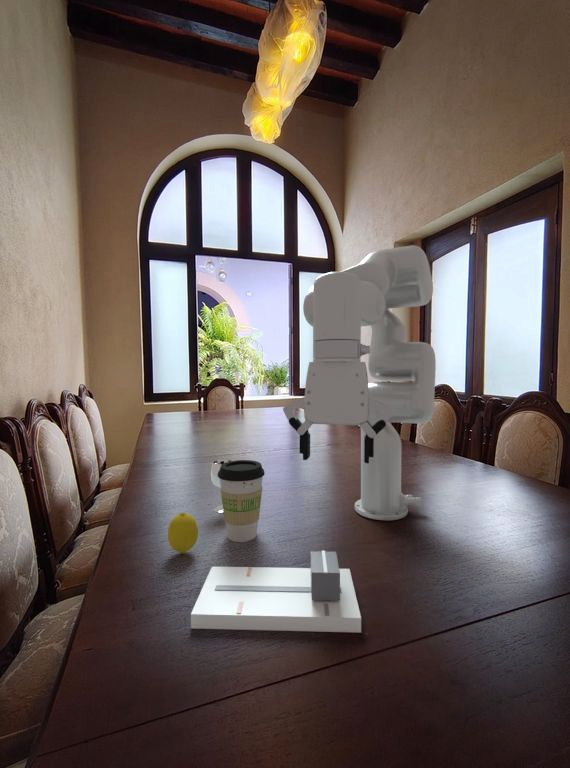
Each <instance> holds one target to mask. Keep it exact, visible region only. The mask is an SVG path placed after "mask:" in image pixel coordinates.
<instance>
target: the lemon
mask: <svg viewBox="0 0 570 768" xmlns="http://www.w3.org/2000/svg"><path fill="white" fill-rule="evenodd" d="M198 535H199V529H198V523H197V521H196V519H195V517H194V516H193V515H191V514H189V513H186V512H185V511H183V512H182V511H181V512H180V513H178V514H177V515H175V516H174V517H173V518H172V520H171V521H170V522H169V526H168V530H167V539H168V544H169V546H170V548H171V549H173V550H174V551H175V552H178V553H180V554H182V555H184V554H186V553H187V552H188V551H190V550H192V548H193V547H194V546H195V545H196V543H197V541H198V537H199V536H198Z"/></svg>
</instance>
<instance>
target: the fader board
mask: <svg viewBox="0 0 570 768" xmlns="http://www.w3.org/2000/svg"><path fill="white" fill-rule="evenodd" d="M339 571H340V600H312V596H311V567H270V566H269V567H266V566H264V567H263V566H262V567H261V566H260V567H259V566H258V567H257V566H256V567H255V566H253V567H252V566H211V568H210V570H209V572H208V574H207V576H206V579H205V582H204V584H203V586H202V588H201V590H200V593H199V595H198V598H197V599H196V602H195V604H194V606H193V608H192V611H191V613H190V628H191V629H193V630H195V629H203V630H204V629H205V630H237V631H238V630H242V631H243V630H244V631H246V630H247V631H249V630H250V631H276V632H277V631H282V632H287V631H289V632H319V633H320V632H322V633H323V632H324V633H326V632H327V633H329V632H330V633H362V616H361V611H360V608H359V603H358V600H357V599H358V598H357V596H356V590H355V587H354V582H353V579H352V573H351V570H350V568H339Z"/></svg>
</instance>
